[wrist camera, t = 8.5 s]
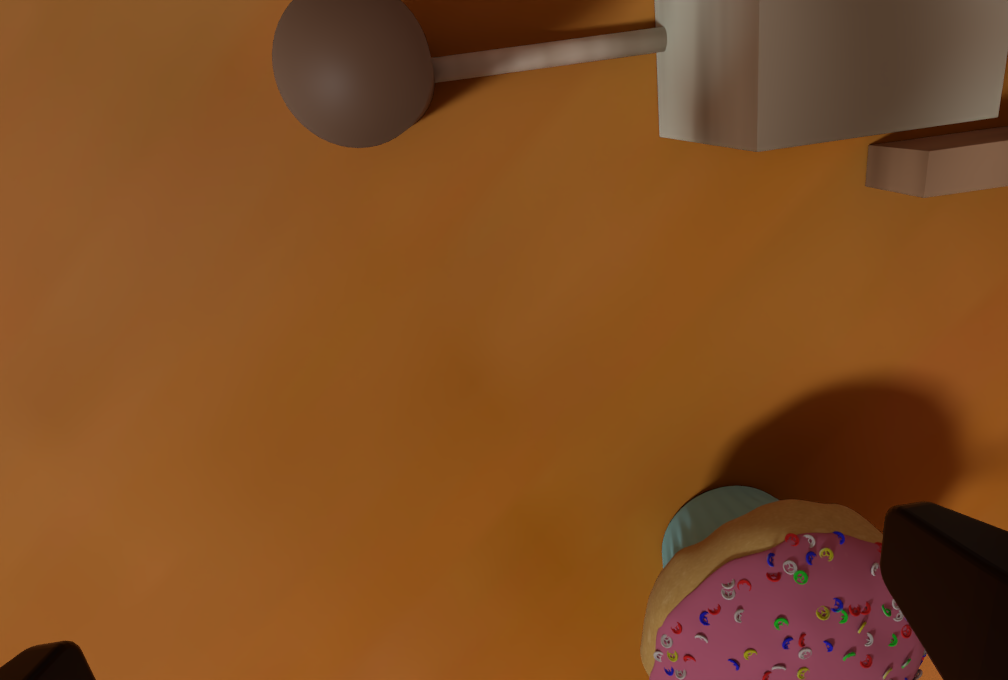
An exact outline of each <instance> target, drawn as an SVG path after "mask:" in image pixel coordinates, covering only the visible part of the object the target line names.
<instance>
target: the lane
mask: <svg viewBox="0 0 1008 680" xmlns="http://www.w3.org/2000/svg"><path fill="white" fill-rule="evenodd" d="M865 186H867V187H872V188H877V189H882V190H887V191H892V192H897V193H902V194H907V195H912V196H917V197H922V198H926V197H933V196H940V195H947V194H954V193H961V192H968V191H975V190H982V189H989V188H996V187H1004V186H1008V126H1004V127H997V128H990V129H983V130H975V131H968V132H961V133H954V134H946V135H939V136H932V137H925V138H917V139H910V140H903V141H896V142H888V143H881V144H874V145H869V149H868V161H867V173H866V185H865Z"/></svg>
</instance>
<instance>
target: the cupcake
mask: <svg viewBox="0 0 1008 680" xmlns="http://www.w3.org/2000/svg"><path fill="white" fill-rule="evenodd" d="M882 539H883V534H882V533H881V532H880V531H879V530H878V529H876V528H875V527H874V526H873V525H872V524H871V523H870V522H869V521H867V520H866V519H865V518H864V517H862V516H861V515H860V514H858V513H857V512H855V511H854V510H852V509H850V508H848V507H846V506H843V505H839V504H824V503H817V502H811V501H805V500H798V499H786V500H778V499H776V498H775V497H773V496H771V495H770V494H768V493H766V492H764V491H761V490H759V489H756V488H752V487H747V486H726V487H721V488H717V489H713V490H710V491H708V492H705V493H703V494H701V495H699V496H697V497H696V498H694V499H692V500H691V501H690V502H688V503H687V504H686V505H685V506H683V507H682V508H681V509H680V510H679V511H678V512H677V514H676V515H675V516H674V517H673V519H672V520H671V522H670V523H669V525H668V527H667V530H666V532H665V535H664V538H663V543H662V558H663V570H662V571H661V573H660V574H659V576H658V578H657V580H656V582H655V585H654V587H653V589H652V591H651V594H650V596H649V599H648V604H647V609H646V614H645V619H644V625H643V633H642V640H641V650H640V651H641V659H642V663H643V665H644V668H645V670H646V672H647V673H648V675H649V680H917V679H919V678H920V677H921V676H922V670H920V669H919V666H920V665H921V663H922V662H923V660H924V657H925V656H926V651H925V649H924V648H923V646H922V644H921V643H920V641H919V640H918V638H917V636H916V635H915V633H914V632H913V630H912V628H911V627H910V625H909V623H908V622H907V620H906V619H905V617H904V615H903V614H902V612H901V610H900V609H899V607H898V606H897V604H896V602H895V601H894V599H893V598H892V596H891V594H890V593H889V591H888V589H887V588H886V586H885V584H884V581H883V579H882V575H881V571H880V556H881V548H882ZM918 673H919V675H918ZM917 675H918V676H917ZM915 676H916V677H915Z"/></svg>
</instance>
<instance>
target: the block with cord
mask: <svg viewBox="0 0 1008 680" xmlns="http://www.w3.org/2000/svg"><path fill="white" fill-rule="evenodd" d="M655 24H656V28H650V29H642V30H635V31H628V32H620V33H613V34H605V35H598V36H590V37H583V38H576V39H568V40H561V41H553V42H546V43H538V44H531V45H524V46H516V47H509V48H501V49H494V50H486V51H479V52H472V53H464V54H457V55H449V56H442V57H434V58H431V55H430V51H429V47H428V43H427V41H426V38H425V35H424V33H423V30H422V28H421V26H420V24H419V23H418V21H417V19H416V18H415V16H414V15H413V13H412V12H411V11H410V10H409V9H408V7H407V6H406V5H405V4H404V3H403V2H402V1H401V0H293V1H292V2H291V3H290V4H289V5H288V7H287V8H286V10H285V11H284V13H283V15H282V17H281V19H280V20H279V23H278V26H277V28H276V31H275V35H274V40H273V49H272V62H273V70H274V76H275V80H276V83H277V86H278V89H279V91H280V94H281V96H282V98H283V100H284V102H285V103H286V105H287V107H288V108H289V110H290V111H291V112H292V114H293V115H294V116H295V117H296V118H297V119H298V121H299V122H300V123H301V124H302V125H303V126H305V127H306V128H307V129H308V130H309V131H311V132H312V133H314V134H315V135H317V136H318V137H320V138H322V139H324V140H326V141H328V142H331V143H334V144H337V145H340V146H345V147H353V148H364V147H372V146H377V145H380V144H383V143H386V142H388V141H390V140H392V139H394V138H396V137H397V136H399V135H400V134H402V133H403V132H404V131H406V130H407V129H408V128H410V127H411V126H412V125H413V124H415V123H416V122H417V121H418V120H419V119H420V118H421V117H422V116H423V115H424V113H425V112H426V110H427V109H428V107H429V105H430V103H431V100H432V97H433V94H434V87H435V83H437V82H445V81H452V80H459V79H467V78H474V77H481V76H489V75H496V74H504V73H511V72H518V71H526V70H533V69H540V68H548V67H555V66H562V65H570V64H577V63H584V62H592V61H599V60H606V59H614V58H621V57H628V56H636V55H643V54H650V53H657V78H658V105H659V132H660V137H665V138H671V139H678V140H684V141H690V142H697V143H703V144H710V145H716V146H722V147H729V148H735V149H742V150H748V151H755V152H759V151H766V150H773V149H780V148H787V147H794V146H801V145H808V144H815V143H822V142H829V141H836V140H843V139H850V138H857V137H864V136H871V135H878V134H885V133H892V132H899V131H906V130H913V129H920V128H927V127H934V126H940V125H947V124H954V123H961V122H968V121H975V120H982V119H989V118H996V117H998V114H999V107H1000V100H1001V93H1002V87H1003V80H1004V73H1005V66H1006V59H1007V52H1008V0H655Z"/></svg>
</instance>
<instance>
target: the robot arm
mask: <svg viewBox="0 0 1008 680" xmlns="http://www.w3.org/2000/svg"><path fill="white" fill-rule="evenodd" d="M880 571H881V575H882V579H883V581H884V584H885V586H886V588H887V589H888V591H889V593H890V594H891V596H892V598H893V599H894V601H895V602H896V604H897V606H898V607H899V609H900V610H901V612H902V614H903V615H904V617H905V619H906V620H907V622H908V623H909V625H910V627H911V628H912V630H913V632H914V633H915V635H916V636H917V638H918V640H919V641H920V643H921V644H922V646H923V648H924V649H925V651H926V653H927V654H928V656H929V657H930V659H931V661H932V662H933V664H934V665H935V667H936V669H937V670H938V672H939V674H940V675H941V677H942V678H943V680H1008V531H1005V530H1003V529H1000V528H997V527H995V526H992V525H990V524H987V523H984V522H982V521H979V520H976V519H974V518H971V517H969V516H966V515H963V514H961V513H958V512H955V511H953V510H950V509H947V508H945V507H942V506H940V505H937V504H934V503H931V502H915V503H909V504H903V505H897V506H894V507H892V508H890V509H889V510H888V512H887V513H886V516H885V522H884V530H883V539H882V548H881V556H880ZM0 680H96V679H95V677H94V675H93V673H92V671H91V669H90V667H89V665H88V663H87V661H86V659H85V657H84V654H83V652H82V650H81V649H80V647H79V646H78V645H77V644H75V643H74V642H72V641H60V642H54V643H48V644H41V645H36V646H33V647H30V648H28V649H26V650H24V651H23V652H21V653H20V654H18V655H17V656H16V657H14V658H13V659H12V660H10V661H9V662H7V663H6V664H5V665H3V666H2V667H0Z"/></svg>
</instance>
